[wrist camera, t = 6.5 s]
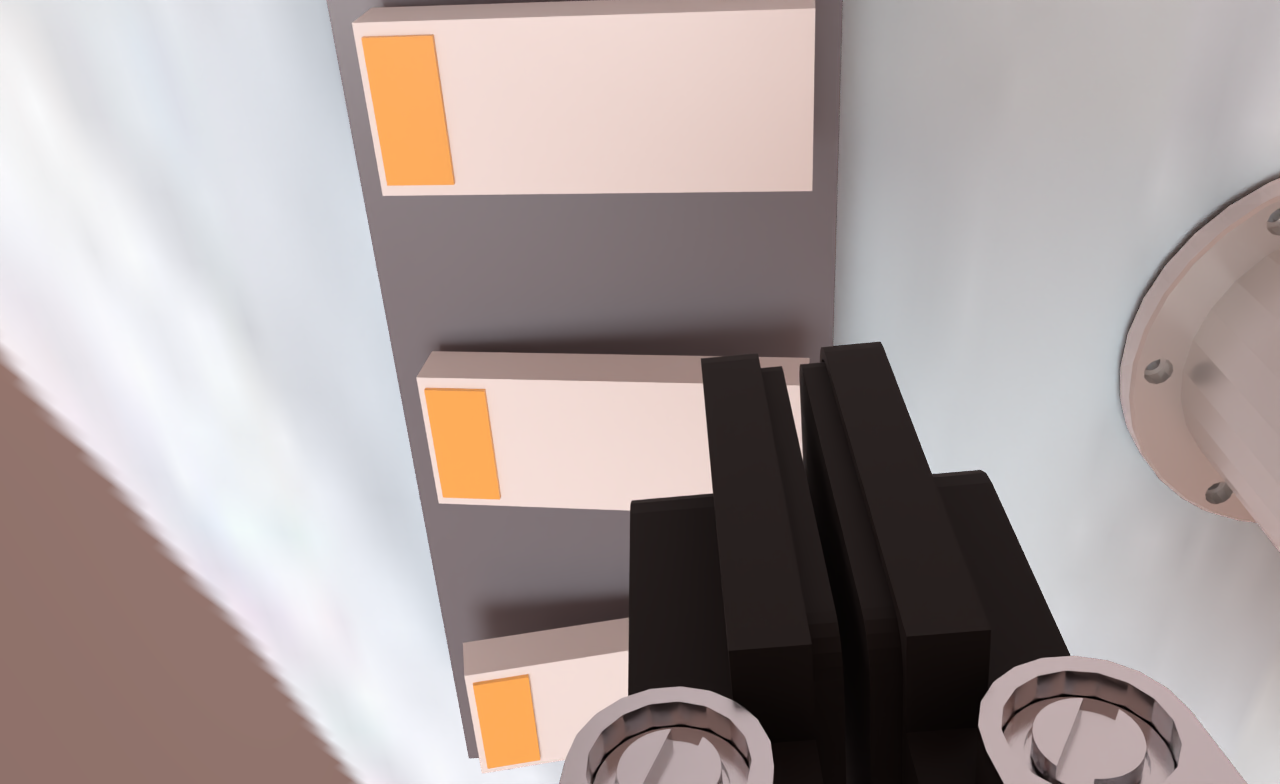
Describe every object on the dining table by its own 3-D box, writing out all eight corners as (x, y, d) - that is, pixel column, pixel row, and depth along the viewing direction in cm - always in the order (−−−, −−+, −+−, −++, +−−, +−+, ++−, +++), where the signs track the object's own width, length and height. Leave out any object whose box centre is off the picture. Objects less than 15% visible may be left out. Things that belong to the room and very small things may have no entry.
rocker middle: (809, 357, 30) (808, 388, 29) (807, 486, 32) (806, 520, 31) (431, 351, 32) (415, 379, 30) (452, 474, 34) (437, 506, 32)
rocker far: (792, 592, 36) (805, 626, 35) (791, 688, 38) (804, 723, 37) (462, 642, 35) (464, 679, 34) (479, 738, 37) (482, 776, 36)
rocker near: (815, -7, 26) (815, 9, 24) (811, 169, 28) (812, 193, 26) (372, 7, 27) (349, 24, 26) (400, 174, 29) (381, 197, 28)
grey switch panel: (823, -381, 27) (853, -390, 24) (805, 655, 44) (821, 738, 40) (305, -345, 27) (260, -350, 24) (480, 674, 44) (468, 758, 40)
